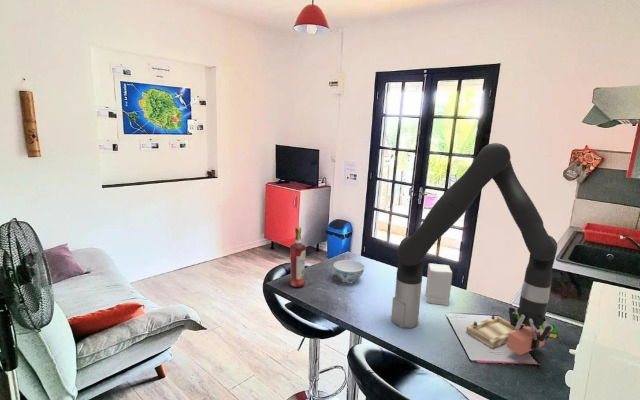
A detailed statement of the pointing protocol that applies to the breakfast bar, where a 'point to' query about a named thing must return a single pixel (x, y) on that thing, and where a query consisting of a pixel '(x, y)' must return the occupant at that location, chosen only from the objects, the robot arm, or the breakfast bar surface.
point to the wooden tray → (491, 331)
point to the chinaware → (348, 270)
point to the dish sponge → (553, 334)
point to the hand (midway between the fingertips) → (525, 344)
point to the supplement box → (438, 284)
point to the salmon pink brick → (522, 340)
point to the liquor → (297, 260)
